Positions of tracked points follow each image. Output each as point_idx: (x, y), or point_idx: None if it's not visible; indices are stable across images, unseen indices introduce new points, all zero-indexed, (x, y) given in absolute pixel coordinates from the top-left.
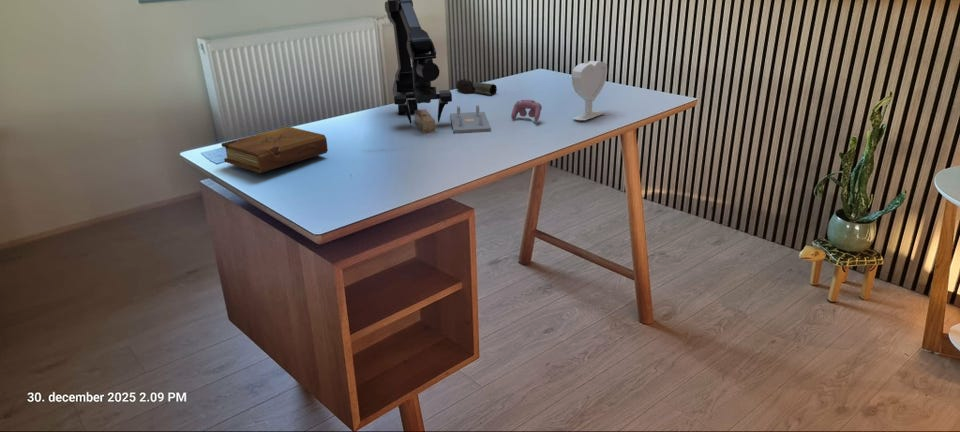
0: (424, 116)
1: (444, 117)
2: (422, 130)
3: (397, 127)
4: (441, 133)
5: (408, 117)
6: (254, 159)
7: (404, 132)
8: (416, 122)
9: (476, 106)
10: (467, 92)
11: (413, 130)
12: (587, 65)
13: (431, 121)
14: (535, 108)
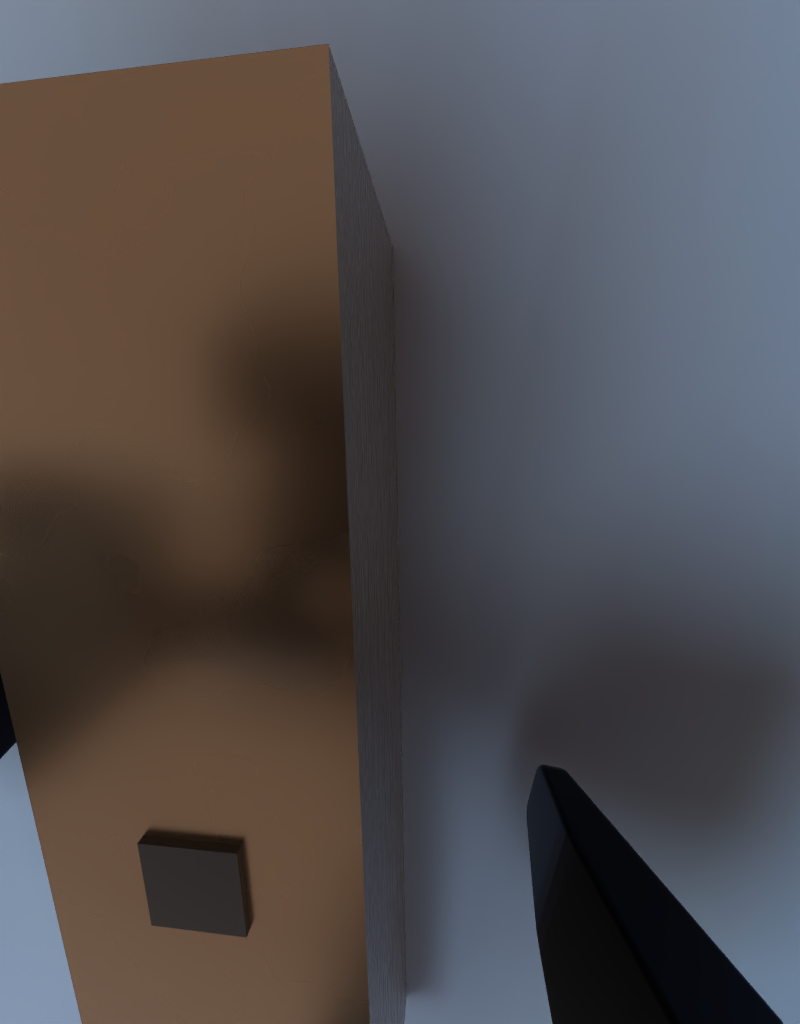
0: (199, 759)
1: (17, 965)
2: (391, 337)
3: (772, 795)
4: (56, 69)
5: (668, 905)
6: None
7: (757, 411)
8: (403, 903)
9: None
10: None
11: (544, 495)
12: None
13: (14, 108)
14: None
